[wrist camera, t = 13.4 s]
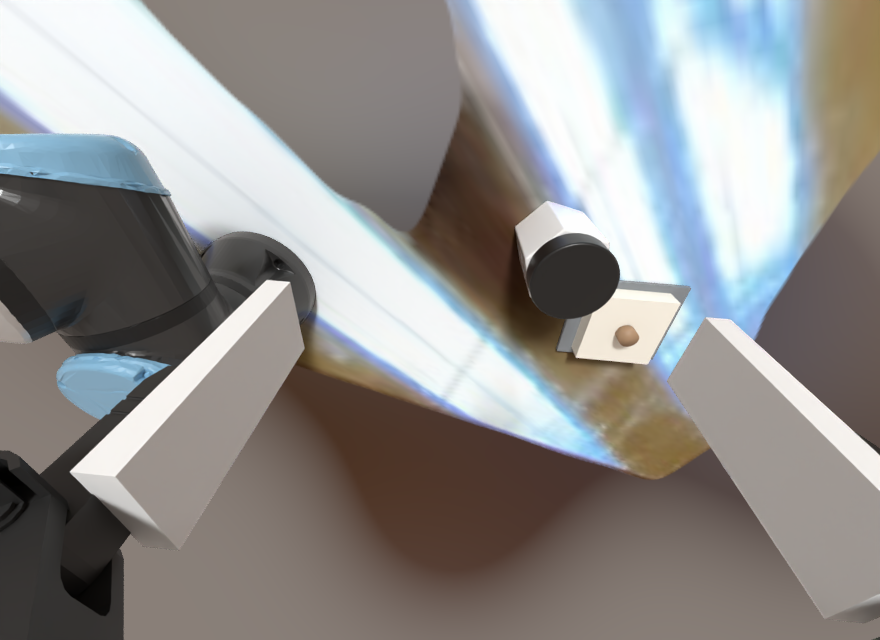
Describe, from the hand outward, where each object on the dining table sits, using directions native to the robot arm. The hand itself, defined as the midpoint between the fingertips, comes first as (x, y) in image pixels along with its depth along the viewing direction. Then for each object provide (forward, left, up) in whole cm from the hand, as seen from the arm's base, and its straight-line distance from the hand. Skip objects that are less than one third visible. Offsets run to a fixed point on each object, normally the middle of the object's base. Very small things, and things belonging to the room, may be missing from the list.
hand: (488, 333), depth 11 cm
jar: (+10, -8, -32) cm, 34 cm away
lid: (+22, -19, -31) cm, 42 cm away
